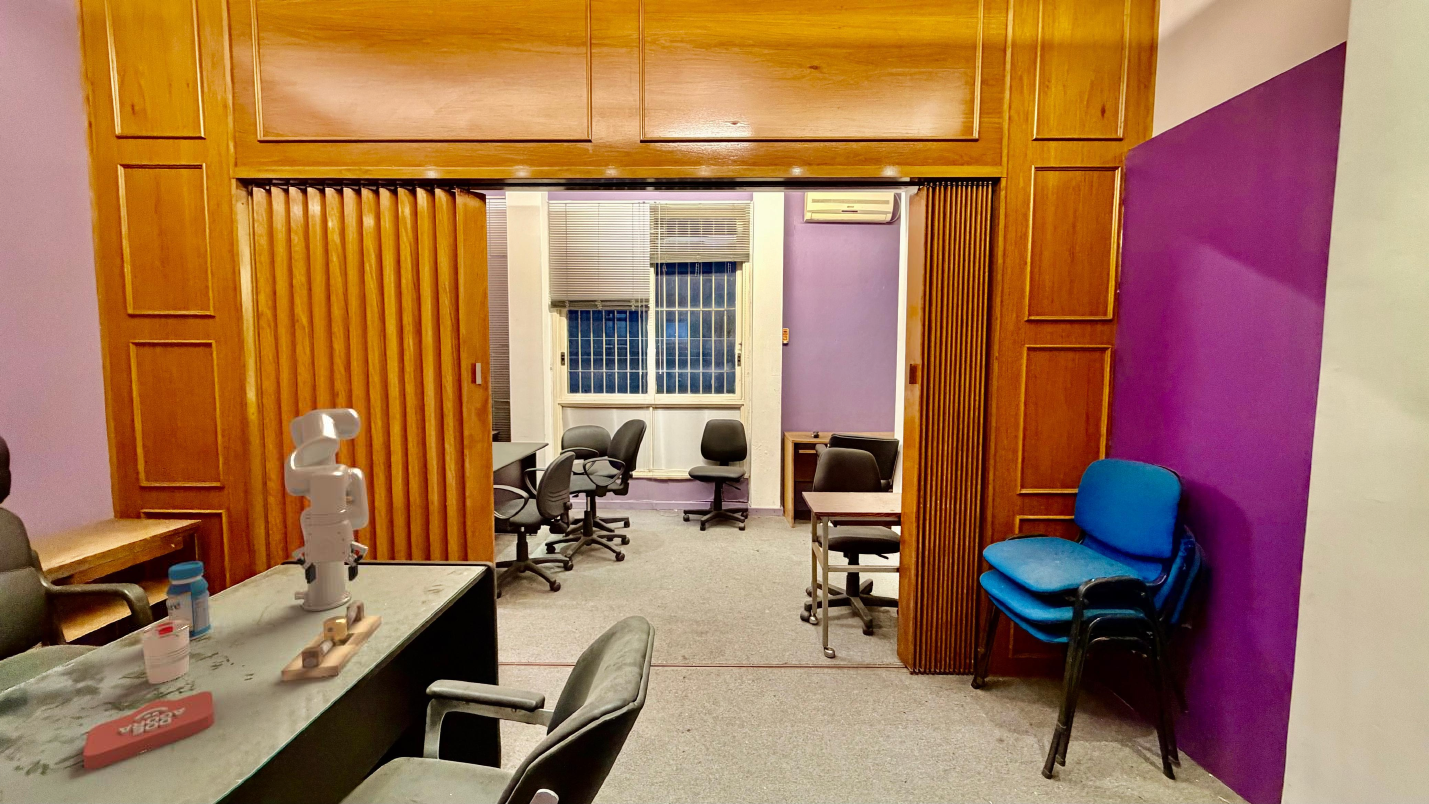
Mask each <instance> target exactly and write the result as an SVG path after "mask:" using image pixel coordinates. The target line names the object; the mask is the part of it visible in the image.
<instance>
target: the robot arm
mask: <svg viewBox="0 0 1429 804" xmlns="http://www.w3.org/2000/svg"><path fill="white" fill-rule="evenodd" d="M361 425H362V423H361V418H360V415H359V413H358V412H357V410H355V409H353V408H346V407H345V408H325V409H323V408H322V409H321V408H320V409H314V410H311V411H308V412H306V413H305V414H304V415H302V416H297V417H295V418H294V419H292V420H291V421H290V423H289V433H290V437H291V439H292V442H293V444H294V446H295V449H294V450H293V451H292V452H291V453H290V454H288V456H287V458H286V460H285V463H284V485H285V490H286V491H287V493H288V494H290V495H291V496H295V497H300V496H305V498H306V499H307V500H309V501H310V506H309V507H307V508H305V509H304V510H303V511H302V512H301V514H300V518H299V519H300V521H299V522H300V526H301V530H302V534H303V539H304V546H302V547H300V548H298V549H296V550H294V551H293V552H291V555H292V557H293V558H294V559H295V560H296V563H297V564H298V565H300V566H301V567H302V569H303V570H304V578H305V580H306V584H307V589H306V590H296V591H295V592H294V594H293V595H294V596H293V597H294V600H295V601H298V600H304V601H303V602H302V604H301V607H302V609H303V610H304V611H308V612H319V611H326V610H331V609H335V608H337V607H341V606H343V605H344V604H347V603H348V602H349V601H350V600H351V599H352V593H351V591H348V590H346V574H345V562H346V563H348V565H349V566H348V568H347V575H348V576H347V577H348V582H353V581H354V580H355V579H356V578H357V576H358V575H359V563H360V562H361V561H362V560H363V559H364V558H365V557H366V554H367V552H368V550H369V547H368V546H366V545H363V544H361V543H359V542H356V541H355V535H354V531H356V530H361V529H363V528H365V527H366V526H367V525H368V524H369V518H370V516H369V515H370V513H369V505H368V503H369V502H368V493H367V485H366V478H365V474H364V471H362V470H361V468H358V467H348V466H347V465H345V464H343V463H337V462H336V460H337V459H336V454H337V452H338V451H339V449H340V447H341V445H340V444H341V442H340V441H343V440H351V439H355V438H356V437H357V436H358V434H359V433H360V431H361ZM347 498H348V499H349V500H347ZM355 550H357V551H358V552H359V554H358V555H356V554H355V552H356V551H355ZM303 553H304V556H303Z"/></svg>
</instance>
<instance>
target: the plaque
mask: <svg viewBox="0 0 1429 804" xmlns="http://www.w3.org/2000/svg"><path fill="white" fill-rule="evenodd" d="M214 711H215V710H214V701H213V693H212V691H201V692H197V693H195V694H191V695H187V696H185V697H181V698H177V699H169V700H168V699H164V700H162V699H159V700H154V701H151V702H149V703H148V704H146V705H144V706H143V707H141V708H138V709H137V710H136V711H134V712H133V713H130V714H128V715H124V716H122V717H121V716H120V717H118V718H115V719H112V720H109V721H106V722H103V723H100V724H98V725H96V726H94V727H93V728H90V729H89V731H88V732H87V734H86V735H87V736H86V740H85V744H84V748H83V753H82V758H83V766H84V769H85V770H87V771H91V770H96V769H99V768H102V767H105V766H107V765H108V766H109V765H111V764H113V763H117V762H119V761H122V760H125V759H128V758H130V756H131V757H134V756H136V755H138V754H137V753H139V754H141V753H140V752H142V751H145V750H148V751H150V750H153V749H155V747H156V748H159V747H161V746H164V745H166V744H170V743H172V742H176V741H178V740H181V739H184V738H186V737H189V736H192V735H195V734H198V733H200V732H203V731H205V730H207V729H209V728H210V727H212V726H213V725H214V724H215V713H214ZM152 748H153V749H152ZM149 749H150V750H149ZM145 752H146V751H145ZM142 753H143V752H142Z"/></svg>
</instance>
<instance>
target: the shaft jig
mask: <svg viewBox="0 0 1429 804" xmlns="http://www.w3.org/2000/svg"><path fill="white" fill-rule="evenodd" d="M344 616H345V617H346V619H347V639H348V642H347V643H346V644H345V645H344V646H334V647H332V646H333V643H332V641H330V640H326V641H324V629H323V630H322V631H321V632H320V633H319V634H317V636H316V637H315V638H313V639H312V641H310V643H309V644H308V645H306V646H305V647H304V648H303V649H302V650H301V651H300V652H299V653H298V654H297V655H296V656H295V657H294V658H293V659H292V660H291V661H290V662H289V663H288V664H287V665H286V666H285V667H284V668H282V670H280V673H281V674H280V675H281V681H283V682H284V681H295V680H304V679H313V678H314V677H315V678H323V677H322V676H325V677H327V676H326V675H334V676H337V675H336V674H339V673H340V674H341V673H342V671H343V670H344V669H345V668H346V666H347V665H348V664H349V663H350V662H349V661H351V660H352V659H353V658H354V657H355V656H356V654H357V653H358V652H359V651H360V650H361V649H362V647H363V646H364V645H365V644H366V643H367V641H368V640H369V639H370V638H371V637H372V636H373V634H374V633H375V631H376V630H378V628H380V626H381V625H382V615H381V614H380V615H379V614H378V615H377V614H376V615H366V616H365V602H362V601H361V600H359V599H354V600H353V601H352V602H351V603H349V604H348V605H347V606H346V613H345V615H344ZM369 637H370V638H369ZM368 638H369V639H368ZM367 639H368V640H367ZM366 640H367V641H366ZM364 643H365V644H364ZM363 644H364V645H363ZM362 645H363V646H362ZM361 646H362V647H361ZM359 649H360V650H359ZM358 650H359V651H358ZM357 651H358V652H357ZM356 652H357V653H356ZM354 655H355V656H354ZM353 656H354V657H353ZM352 657H353V658H352ZM351 658H352V659H351ZM350 659H351V660H350ZM348 662H349V663H348ZM347 663H348V664H347ZM346 664H347V665H346ZM344 667H345V668H344ZM343 668H344V669H343ZM342 669H343V670H342ZM341 670H342V671H341ZM340 674H339V675H340Z"/></svg>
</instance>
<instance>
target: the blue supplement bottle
mask: <svg viewBox="0 0 1429 804" xmlns="http://www.w3.org/2000/svg"><path fill="white" fill-rule="evenodd" d="M167 572H168V580H169V582H171V583H170V584H169V586H168V587H167V589H166V592H165V593H166V594H165V596H167V599H166V602H165V604H166V607H167V613H168V621H173V620H189V621H190V624H189V641H192V640H195V639H198V638H201V637H203V636H205V635H207V634H208V633H209V632H210V631H211V629H212V625H211V622H210V620H211V619H210V606H209V604H210V603H209V598H210V592H209V590H208V587H209V584H208V582H207V581H206V579H205V578H204V577H203V575H204V564H203V561H198V560H197V561H195V560H194V561H188V562H182V563H179V564H176V565H172V566H171V567H169V568H168V571H167Z"/></svg>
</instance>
